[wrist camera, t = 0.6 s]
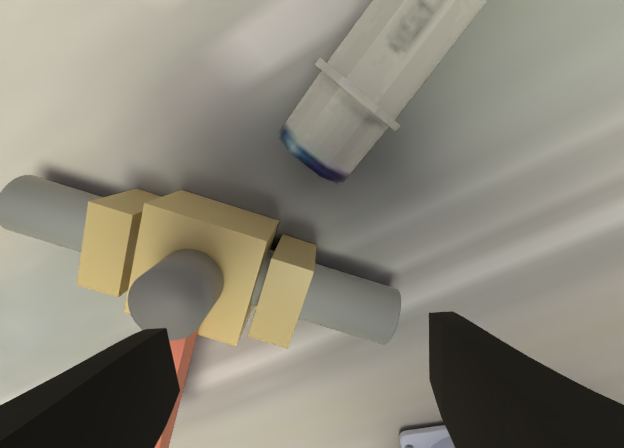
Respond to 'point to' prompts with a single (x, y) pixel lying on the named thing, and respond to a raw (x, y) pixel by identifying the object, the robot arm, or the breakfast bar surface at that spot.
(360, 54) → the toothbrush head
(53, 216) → the valve pipe
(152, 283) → the lever
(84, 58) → the breakfast bar surface
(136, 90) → the breakfast bar surface
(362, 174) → the breakfast bar surface
